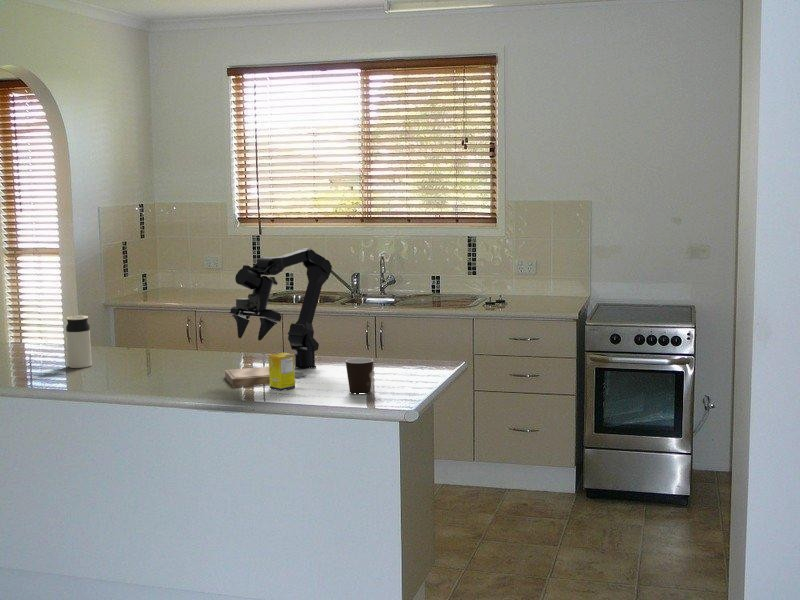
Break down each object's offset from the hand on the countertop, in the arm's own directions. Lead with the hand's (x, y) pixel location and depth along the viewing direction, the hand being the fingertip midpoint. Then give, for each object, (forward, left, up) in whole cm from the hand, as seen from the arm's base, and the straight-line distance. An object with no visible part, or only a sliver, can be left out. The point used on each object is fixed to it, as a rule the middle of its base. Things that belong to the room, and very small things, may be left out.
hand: (249, 339), depth 314 cm
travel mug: (+53, -49, -14) cm, 73 cm away
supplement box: (-7, +15, -14) cm, 22 cm away
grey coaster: (-14, -2, -14) cm, 20 cm away
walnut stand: (-1, -1, -14) cm, 14 cm away
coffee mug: (-30, +29, -14) cm, 44 cm away
